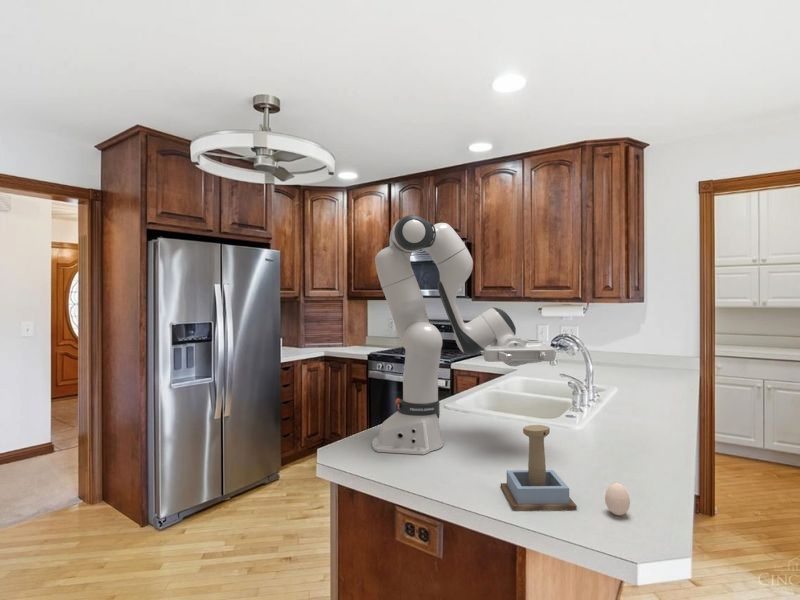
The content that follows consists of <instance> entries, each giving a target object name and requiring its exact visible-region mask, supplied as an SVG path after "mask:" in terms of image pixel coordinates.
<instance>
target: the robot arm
mask: <svg viewBox="0 0 800 600" xmlns="http://www.w3.org/2000/svg"><path fill="white" fill-rule="evenodd" d="M387 242H388V243H387V247H385V248H382V249H380V250H379V251H378V252H377V254H376V255H375V257H374V264H375V269H376V274H377V276H378V280H379V284H380V287H381V290H382V292H383V294H384V296H385V300H386V302H387V304H388V306H389V309H390V314H391V316H392V320H393V322H394V326H395V329H396V332H397V335H398V337H399V341H400V343H401V345H402V347H403V348H404V350H405V353H404V366H403V373H402V398H399V397H398V398H396V399H395V405H396V412H394V413H393V414H391V415H390V416H389V417H388V418H387V419H385V420H384V421H383V422H382V423H381V426H380V429H379V432H378V435H376V436H375V437H374V438H373V439H372V442H371V443H372V444H371V446H372V447H371V448H372V449H373V450H374V451H375V452H379V453H388V454H389V453H393V454H408V455H426V454H428V453H430V452H433V451H437V450H439V449H441V448H442V447H443V446H444V440H443V438H442V433H441V427H440V416H441V403H440V400H439V370H440V369H439V368H440V364H441V363H440V362H441V355H442V348H443V337H442V334H441V332H440V330H439V329H438V328H437V326H435V325H433V324H432V323H430V321H429V317H428V313H427V310H426V306H425V300H424V299H425V298H424V296H423V293H422V290H421V289H420V286H419V283H418V281H417V277H416V275H415V273H414V270H413V267H412V263H411V256H412V254H413V253H416V252H418V251H420V250H422V251H425V252H426V253H427V254H428V255H429V256H431V259H432V260H433V262H434V264H435V265H436V267H437V269H438V273H439V281H438V283H437V290H438V294H439V296H440V300H441V302H442V305H443V308H444V309H445V313H446V315H447V317H448V321H449V323H450V326H451V328H452V331H453V335H454V340H455V342H456V344H457V347H458V349H459V350H460V351H461V352H462V353H463V354H466V355H467V356H468V355H470V356H476V355H478V354H481V355H483V359H484V361H485V362H488V363H490V362H491V363H493V362H501V363H504V364H506V365H507V366H510V367H519V366H521V365H522V366H523V365H527V364H534V363H542V362H555V361H556V349H555V347H554V346H551V345H549V344H546V343H543V342H542V341H541V340H535V339H526V338H525V339H524V338H522V337H517V336H516V333H517V329H516V325H515V323H514V321H513V320H512V318H511V317H510V316H509V315H508V314H507V312H506V311H505V310H502V309H500V308H498V307H491V308H489V309H488V310H485V311H484V312H482V313H481V314H480V315H478V316H477V317H475V318H473V319H472V320H470V321H468V322H464V319H463V316H462V315H461V312H460V309H459V307H458V304H457V295H458V292H459V291H460V289H461V288H462V287H463V285H464V284H465V283H466V281H467V280H468V279H469V278H470V276H471V274H472V271H473V269H474V268H473V266H474V261H473V257H472V255H471V253H470V251H469V249H468V247H467V246H466V245H465V243H464V241H463V240H462V238H461V237H460V236H459V235H458V233H457V232H456V230H455V229H453V227H452V226H451V225H450V224H448V223H446V222H438V223H435V224H433V223H431V222H430V221H427V220H426V219H425V218H423V217H421V216H419V215H415V214H408V215H404V216H403V217H401V218H400V219H398V220H397V221H396V222H395V223H394V224H393V226H392V228H391V230H390V232H389V235H388V241H387Z"/></svg>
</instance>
